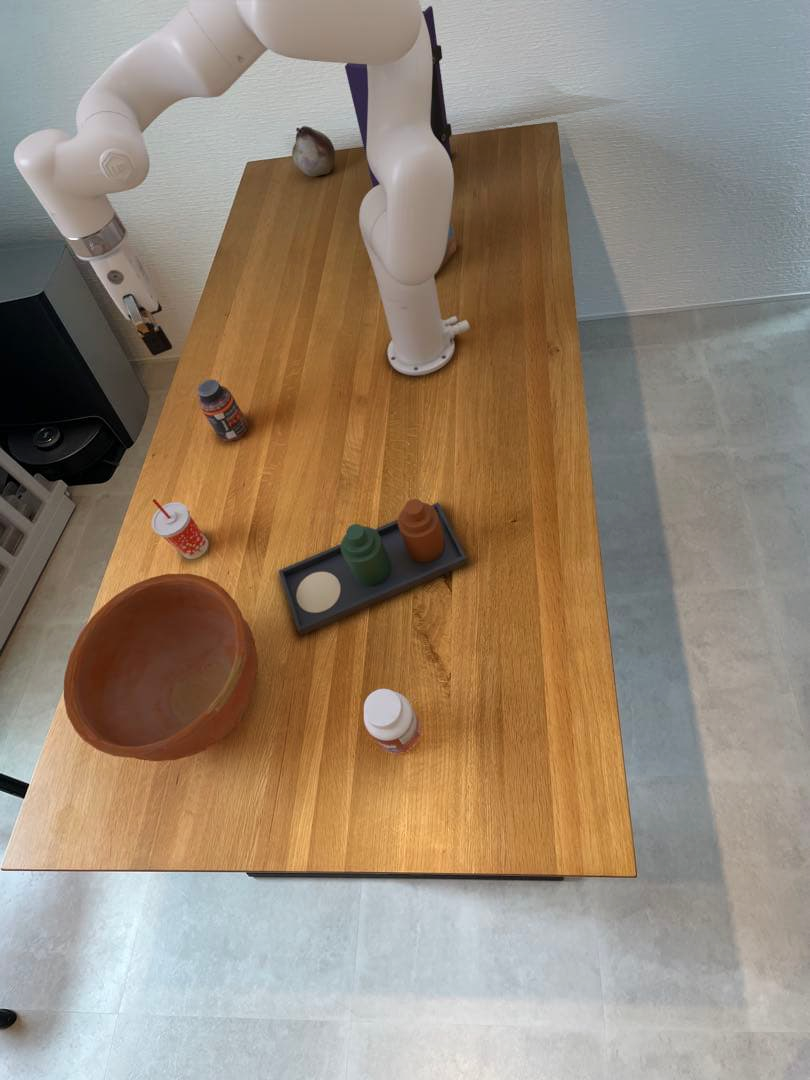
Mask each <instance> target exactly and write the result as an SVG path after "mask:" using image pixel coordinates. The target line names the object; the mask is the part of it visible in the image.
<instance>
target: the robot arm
mask: <svg viewBox="0 0 810 1080" xmlns="http://www.w3.org/2000/svg"><path fill="white" fill-rule="evenodd" d="M422 11H423V10H422V6H421V2H420V0H188V1H187V2H186V4H185V5H184V6H183V7H182V8H181V9H180V10H179V11H178V12H177V13H176V14H175V16H174V17H173V18H172V19H171V20H170V21H169V22H168V23H167V24H166V25H164V26H163V27H162V28H160V29H158V30H157V31H154V32H152V33H151V34H149V35H148V36H146V37H145V38H144V39H143V40H141V41H139V42H137V43H136V44H135V45H133V46H131V47H129V48H128V49H127V50H125V51H124V52H123V53H121V54H120V56H119V57H117V58H116V59H115V60H114V61H113V62H112V63H111V65H109V66H108V67H107V68H106V69H105V70H104V71H103V73H102V74H101V75H100V76H99V77H98V78H97V80H96V81H94V83H93V84H92V85H91V86H90V87H89V88H88V90H86V92H85V93H84V95H83V96H82V98H81V99H80V102H79V104H78V106H77V110H76V113H75V122H76V131H77V134H76V135H75V136H74V137H72V136H71V135H70V134H69V133H68V132H67V131H64V130H62V129H59V128H46V129H41V130H39V131H36V132H33V133H31V134H29V135H28V136H26V137H25V138H23V139H21V141H20V142H19V143H18V144H17V146H16V147H15V149H14V152H13V161H14V164H15V166H16V168H17V170H18V172H19V173H20V175H21V176H22V177H23V179H24V181H25V182H26V183H27V185H28V186H29V188H30V189H31V191H32V192H33V194H34V195H35V197H36V198H37V200H38V201H39V203H40V205H41V206H42V207H43V209H44V210H45V211H46V213H47V214H48V216H49V217H50V219H51V220H52V221H53V223H54V225H55V226H56V228H57V229H58V230H59V232H60V234H61V235H62V236H63V238H64V239H65V241H66V243H67V244H68V245H69V247H70V248H71V249H72V251H73V253H74V254H75V255H76V257H77V258H78V259H80V260H82V261H87V262H89V263H90V266H91V267H92V269H93V270H94V272H95V274H96V276H97V277H98V279H99V280H100V282H101V284H102V285H103V287H104V288H105V290H106V291H107V293H108V294H109V296H110V297H111V299H112V300H113V303H114V304H115V306H116V307H117V308H118V310H119V311H120V313H121V314H122V315H123V316H124V318H125V319H126V320H128V321H130V322H132V323H133V325H134V328H135V329H136V331H137V333H138V335H139V337H140V339H141V340H142V341H143V343H144V344H145V346H146V347H147V349H148V350H149V352H150V353H151V355H152V356H158V355H161V354H162V353H165V352H167V351H170V350H172V349H173V344H172V342H171V341H170V339H169V338H168V336H167V334H166V333H165V332H164V330H163V328H162V326H161V325H158V324H157V322H156V320H155V317H154V315H155V314H158V313H160V312H162V311H163V307H162V305H161V304H160V302H159V301H158V297H157V294H156V290H155V286H154V283H153V280H152V277H151V274H150V273H149V271H148V269H147V268H146V266H145V265H144V264H143V261H142V260H141V259H140V257H139V255H138V254H137V252H136V251H135V250H134V248H133V247H132V245H131V243H130V242H129V240H128V237H129V233H128V230H127V228H126V225H124V223H123V221H122V219H121V218H120V216H119V215H118V213H117V211H116V210H115V207H114V206H113V205H112V203H111V201H110V199H109V197H108V196H107V195H111V194H116V193H122V192H127V191H130V190H133V189H135V188H137V187H138V186H140V185H141V184H143V183H144V182H145V180H146V179H147V177H148V175H149V171H150V156H149V155H150V154H149V152H148V148H147V144H146V143H145V139H144V135H143V133H144V132H145V131H146V130H147V128H148V127H149V126H150V125H151V124H152V123H153V122H154V121H156V119H157V118H159V116H160V115H161V114H162V113H163V112H165V111H166V110H167V109H168V108H170V107H171V106H173V105H174V104H176V103H178V102H180V101H182V100H185V99H188V98H204V99H206V98H207V99H208V98H209V99H211V98H218V97H221V96H222V95H224V94H225V93H226V92H227V91H228V90H229V89H230V88H231V87H232V86H233V85H234V84H235V83H236V82H237V81H238V80H239V79H240V78H241V77H242V76H243V75H244V73H246V71H248V70H249V68H250V67H252V66H253V65H254V64H255V63H256V62H257V60H258V59H260V58H261V56H263V54H265V53H266V52H267V51H268V50H270V51H271V52H272V53H275V54H276V55H279V56H282V57H286V58H291V59H296V60H301V61H302V60H303V61H312V62H313V61H314V62H325V63H336V64H337V63H338V64H347V63H352V64H367V71H368V120H367V146H366V154H367V159H366V161H367V160H368V163H367V165H368V164H369V167H370V169H371V171H372V172H373V174H374V176H375V177H376V179H377V180H378V182H379V183H380V185H378V186H375V187H374V188H373V187H372V188H371V189H369V191H368V192H366V194H365V196H364V197H363V199H362V201H361V204H360V207H359V212H358V225H359V229H360V233H361V234H360V235H361V237H362V240H363V243H364V245H365V246H364V247H365V248H366V251H367V255H368V256H369V260H370V263H371V266H372V268H373V272H374V276H375V279H376V283H377V287H378V292H379V294H380V300H381V302H382V306H383V311H384V315H385V318H386V321H387V325H388V329H389V333H390V336H391V337H390V338H391V340H390V342H389V345H388V347H387V358H388V361H389V363H390V365H391V366H392V368H393V369H394V370H396V371H397V372H399V373H400V374H404V375H407V376H424V375H428V374H431V373H434V372H436V371H439V370H440V369H442V368H443V367H445V366H446V365H447V364H448V363H449V362H450V360H451V359H452V358H453V355H454V353H455V350H456V349H455V348H456V346H455V345H456V344H455V340H454V339H455V336H456V335H459V334H463V333H465V332H468V331H470V329H471V328H470V327H471V326H470V323H469V322H468V320H467V319H464V320H462V321H458V318H457V315H454V316H451V317H449V318H447V319H445V320H444V319H442V314H441V309H440V308H441V307H440V302H439V297H438V291H437V286H436V279H435V276H436V275H435V273H436V272H437V271H438V269H439V267H440V265H441V263H442V261H443V258H444V255H445V251H446V246H447V239H448V231H449V224H450V216H451V213H452V207H453V201H454V189H455V175H454V168H453V164H452V161H451V157H449V155H448V153H447V152H446V150H445V148H444V147H443V146H442V144H441V143H440V142H439V141H438V139H437V138H436V137H435V136H434V134H433V132H432V129H431V124H430V113H431V95H432V50H431V42H430V37H429V32H428V28H427V25H426V21H425V18H424V15H423V12H422ZM369 167H368V168H369ZM438 272H439V271H438ZM438 272H437V273H438ZM434 275H435V276H434ZM144 318H147V319H148V320H149V322H148V321H146V320H145V319H144Z"/></svg>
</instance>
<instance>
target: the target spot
mask: <svg viewBox="0 0 810 1080" xmlns="http://www.w3.org/2000/svg"><path fill="white" fill-rule="evenodd" d="M340 591H341V587H340V583H339V581H338V579H337V578H336V577H335V576H334V575H332V574H331V573H328V572H316V573H313V574H311V575H309V576H307V577H306V578H305V579H304V580H303V581H302V582H301V583H300V585H299V587H298V589H297V595H296V597H297V601H298V604H299V605H300V607H301V608H302V609H304V610H305V611H307V612H311V613H320V612H323V611H326V610H328V609H329V608H331V607H332V606H333V605H334V604H335V603H336V602H337V600H338V598H339V596H340Z"/></svg>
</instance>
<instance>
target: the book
mask: <svg viewBox="0 0 810 1080" xmlns="http://www.w3.org/2000/svg"><path fill="white" fill-rule="evenodd" d="M422 12H423V15H424V18H425V21H426V25H427V28H428V32H429V37H430V42H431V50H432V95H431V113H430V124H431V129H432V132H433V134H434V136H435V137H436V138H437V139H438V141H439V142H440V143H441V144H442V146H443V147H444V148H445V150H446V152H447V153H448V155H449V157H450V158H452V150H451V142H450V138H451V136H452V135H453V131H452V124H451V123H448V120H447V110H446V103H445V95H444V87H443V79H442V72H441V63H440V61H441V60H442V59H443V50H442V45H441V44H438V41H437V31H436V24H435V17H434V10H433V6H431V5H429V6H427V8H426V9H424V10H422ZM344 69H345V74H346V77H347V81H348V87H349V90H350V95H351V99H352V104H353V108H354V113H355V116H356V120H357V125H358V129H359V133H360V137H361V142H362V146H363V150H364V155H365V159H366V163H367V167H368V172H369V177H370V180H371V184H372V188H374V187H375V186H378V185H379V184H380V183H379V182H378V180H377V179H376V177H375V176H374V174H373V172H372V171H371V169H370V167H369V164H368V160H367V154H366V146H367V120H368V71H367V64H352V63H345V65H344Z"/></svg>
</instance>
